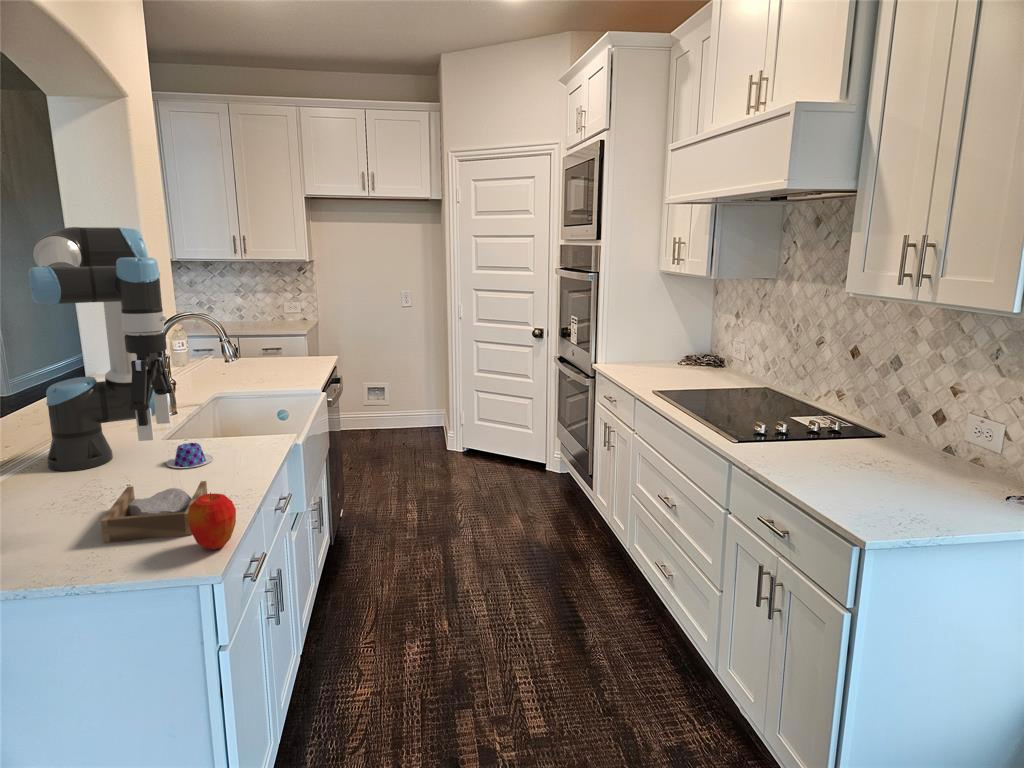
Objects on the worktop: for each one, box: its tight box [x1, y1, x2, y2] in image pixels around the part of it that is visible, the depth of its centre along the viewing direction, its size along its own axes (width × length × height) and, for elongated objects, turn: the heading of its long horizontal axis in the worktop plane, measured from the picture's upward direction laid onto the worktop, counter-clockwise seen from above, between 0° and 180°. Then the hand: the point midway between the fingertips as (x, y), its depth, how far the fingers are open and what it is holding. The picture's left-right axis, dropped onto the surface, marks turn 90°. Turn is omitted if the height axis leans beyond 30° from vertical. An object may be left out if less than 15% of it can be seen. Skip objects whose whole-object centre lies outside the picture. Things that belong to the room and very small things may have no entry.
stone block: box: [129, 487, 193, 516], centre depth 151 cm, size 12×5×10 cm
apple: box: [187, 492, 237, 550], centre depth 134 cm, size 9×9×12 cm
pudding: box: [165, 442, 214, 469], centre depth 184 cm, size 12×12×5 cm
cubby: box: [100, 480, 208, 544], centre depth 147 cm, size 19×17×5 cm
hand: (155, 431), depth 140 cm, fingers open, 13 cm apart
